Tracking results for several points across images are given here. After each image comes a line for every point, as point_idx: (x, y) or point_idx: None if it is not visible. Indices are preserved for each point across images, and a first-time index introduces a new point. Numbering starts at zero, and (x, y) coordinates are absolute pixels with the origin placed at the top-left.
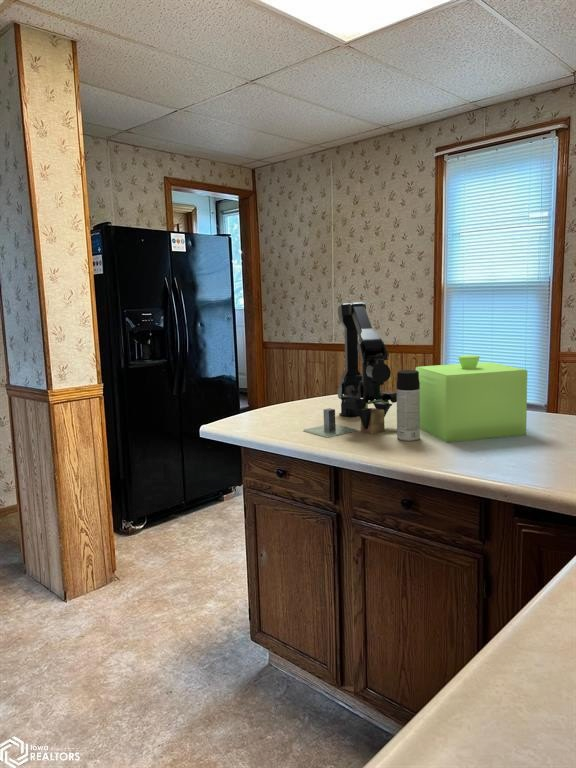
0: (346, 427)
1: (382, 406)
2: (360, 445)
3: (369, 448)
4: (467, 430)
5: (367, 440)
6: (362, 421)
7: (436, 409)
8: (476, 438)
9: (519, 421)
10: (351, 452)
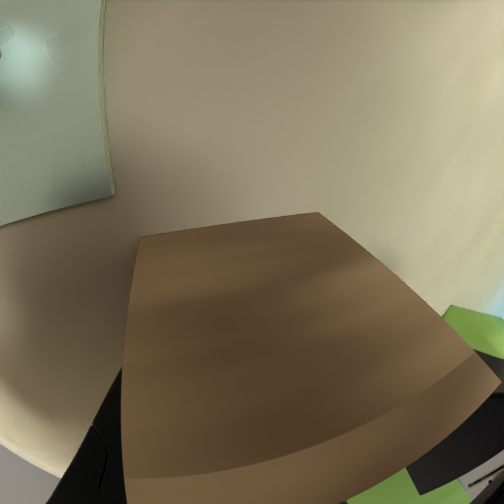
0: (76, 35)
1: (437, 472)
2: (43, 432)
3: (69, 454)
4: None
5: (87, 418)
6: (113, 405)
7: (373, 501)
8: None
9: None
10: (14, 442)
